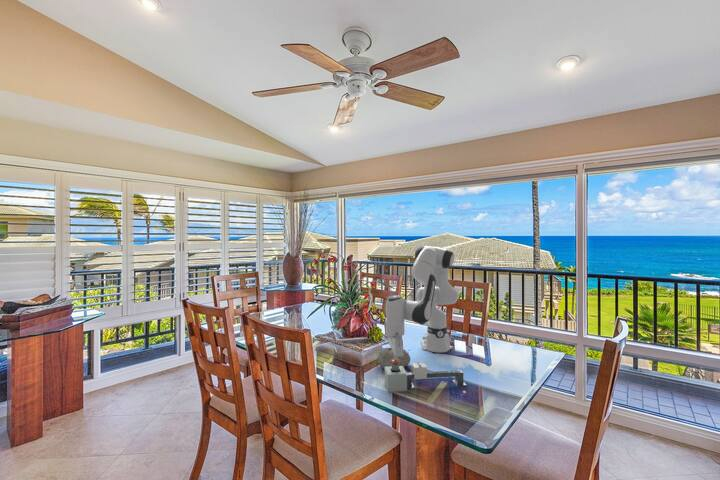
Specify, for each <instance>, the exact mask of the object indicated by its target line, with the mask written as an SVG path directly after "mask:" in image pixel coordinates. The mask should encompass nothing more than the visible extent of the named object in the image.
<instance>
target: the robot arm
mask: <svg viewBox="0 0 720 480" xmlns="http://www.w3.org/2000/svg"><path fill="white" fill-rule="evenodd" d="M414 258H415V260H414V262H413V265H412V268H411V275H412V277H413V279H415V281H417V282H418V283H419V284H421V285H422V287H419V288H418V289H417V290H416V293H415V298H416V300H417V301H415V300H410V299H407V298H404V297H403V295H400V294H391V295H390V296H387V297H386V298H387V299H386V301H385V310H384V311H385V318H386V320H385V335H386V336H387V342H388V345H389V348H391V349H392V352H393V359H394V360H398V357H402V356H403V349H404V343H403V339H402V337H403V336H404V335H405V321H408V322H414V323H415V324H419V325H424V324H427V322H428V324H427V328H426V329H427V330H426V332H425V333H424V335H423V336H422V340H421V341H420V343H421V348H422V350H423V351H429V352H433V353H447V352H449V351H450V350H452V349H453V346H452V345H451V341H450V340H451V339H450V337H451V336H450V335H449V333H448V326H447V314H446V312H444V310H442V309H440V308H438V307H437V305H447V306H449V305H454V304H456V303H457V301H458V300H459V292H458V290H457V288H455V287H453V286H452V285H451V284H450V282H449V277H448V274H449V273H448V271H449V269H450V268H451V267H452V266H453V264H454V262H455V254H454V253H453V251H452V250H449V249H445V248H443V247H438V246H433V245H432V246H430V245H426V244H425V245H424V244H423V245H419V246H417V247H416V249H415V252H414Z"/></svg>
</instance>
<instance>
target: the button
mask: <svg viewBox="0 0 720 480" xmlns="http://www.w3.org/2000/svg"><path fill="white" fill-rule="evenodd" d="M391 363H392V372H399V363H400V360H399V359H398V360H394V359H391Z"/></svg>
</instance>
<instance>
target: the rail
mask: <svg viewBox="0 0 720 480" xmlns="http://www.w3.org/2000/svg"><path fill="white" fill-rule="evenodd" d="M406 373H407V390H415V389H416V388H415V386H414V383H413V380H415V379H414V373H412V372H409V371H408V372H407V371H406ZM451 377H454V379H452V380H451V382H452V383H453V384H454V385H455V387H456V388H459V387H460V388H462V387H467V385H468V384H466V382H465V381H464V371H463V370H462V369H456V370H455V369H454V370H441V371H427V379H434V378H451Z"/></svg>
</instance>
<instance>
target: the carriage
mask: <svg viewBox="0 0 720 480" xmlns="http://www.w3.org/2000/svg"><path fill="white" fill-rule="evenodd" d="M427 372H428V367H427V365H426V364H425V363H424V362H419V361H418V362H416V363H415V362H414V363H413V362H412V363H411V373H414V379H413V380H423V379H424V380H425V379H428V378H427Z"/></svg>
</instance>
